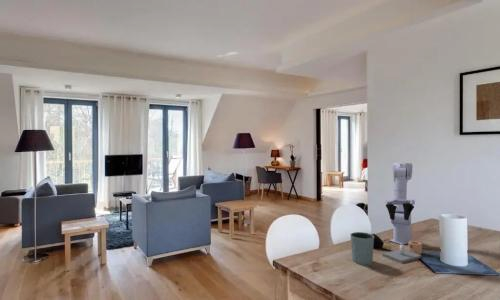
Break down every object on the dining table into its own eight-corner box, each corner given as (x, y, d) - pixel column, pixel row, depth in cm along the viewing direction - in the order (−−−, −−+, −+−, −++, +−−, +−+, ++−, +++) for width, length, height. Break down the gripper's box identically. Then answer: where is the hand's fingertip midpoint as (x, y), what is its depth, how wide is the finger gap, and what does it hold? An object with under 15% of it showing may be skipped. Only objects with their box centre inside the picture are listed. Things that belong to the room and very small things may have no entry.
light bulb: (393, 239, 158) (370, 229, 166) (387, 249, 155) (364, 238, 163) (393, 247, 162) (370, 237, 170) (387, 257, 159) (364, 246, 167)
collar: (413, 249, 160) (413, 240, 160) (423, 253, 155) (423, 243, 155) (405, 251, 157) (405, 242, 157) (415, 255, 152) (415, 245, 152)
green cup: (375, 266, 139) (376, 239, 138) (351, 264, 141) (351, 237, 140) (371, 258, 149) (371, 232, 148) (348, 256, 151) (349, 231, 150)
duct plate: (402, 251, 158) (402, 240, 158) (421, 257, 149) (421, 246, 149) (382, 255, 151) (383, 244, 151) (401, 263, 142) (401, 251, 142)
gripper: (382, 190, 160) (380, 218, 156) (408, 188, 147) (407, 218, 143) (391, 193, 162) (390, 220, 159) (417, 192, 150) (417, 221, 146)
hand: (399, 219), depth 151 cm, fingers open, 7 cm apart
